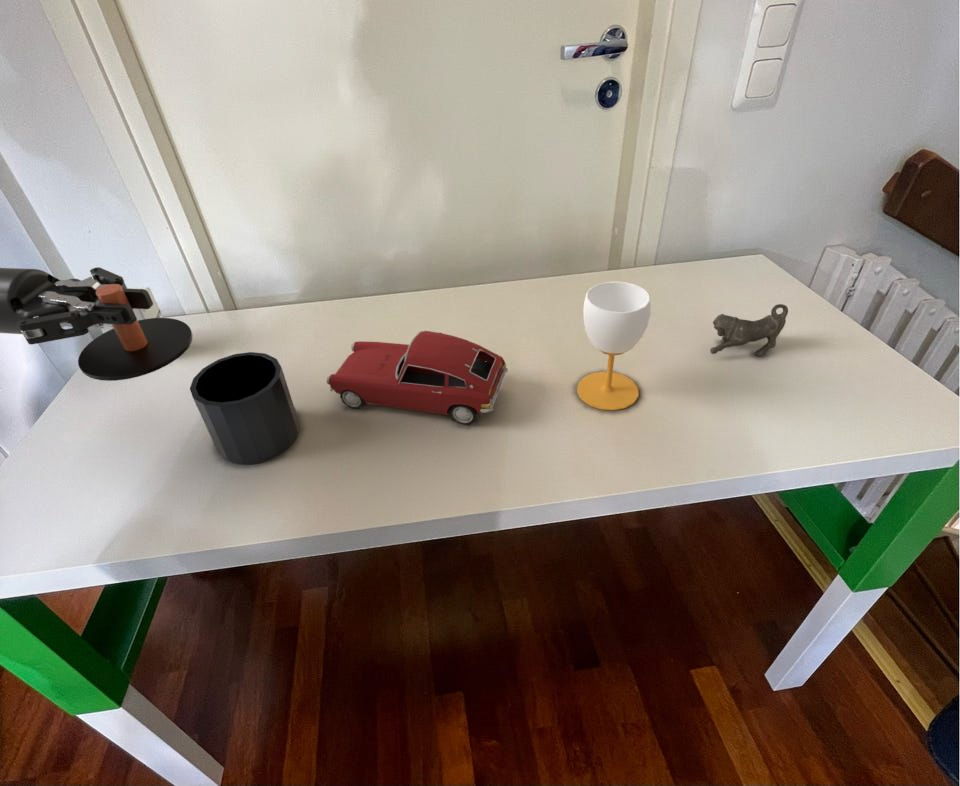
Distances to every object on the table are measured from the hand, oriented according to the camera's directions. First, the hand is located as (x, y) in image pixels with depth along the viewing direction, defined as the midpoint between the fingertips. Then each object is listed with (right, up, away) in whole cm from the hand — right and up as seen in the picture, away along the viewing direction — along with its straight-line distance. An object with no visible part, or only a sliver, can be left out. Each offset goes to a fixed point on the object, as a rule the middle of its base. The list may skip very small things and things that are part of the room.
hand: (140, 306), depth 67 cm
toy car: (+29, -10, +24) cm, 39 cm away
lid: (-3, -4, +4) cm, 7 cm away
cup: (+57, -10, +22) cm, 62 cm away
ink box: (-19, -3, +36) cm, 41 cm away
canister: (+7, -16, +18) cm, 25 cm away
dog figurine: (+80, -3, +29) cm, 85 cm away
